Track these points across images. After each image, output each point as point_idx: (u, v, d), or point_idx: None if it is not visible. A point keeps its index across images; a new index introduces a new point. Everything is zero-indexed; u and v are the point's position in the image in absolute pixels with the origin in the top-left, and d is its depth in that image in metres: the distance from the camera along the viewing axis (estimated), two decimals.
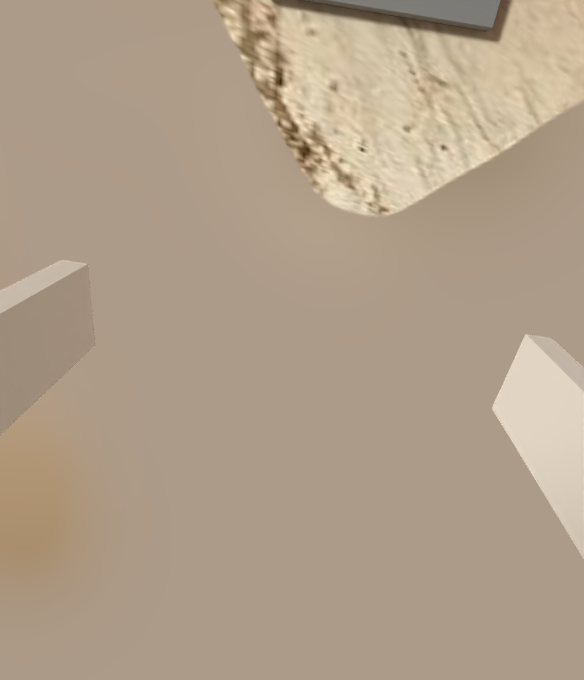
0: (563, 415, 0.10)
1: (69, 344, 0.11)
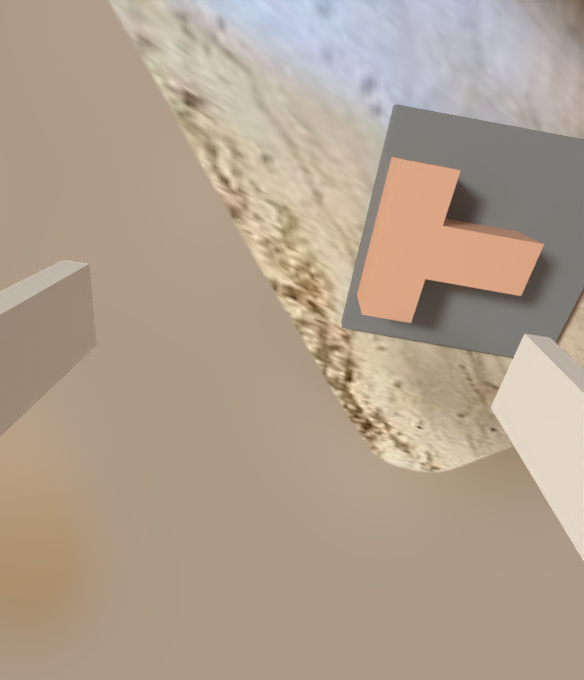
0: (561, 414, 0.10)
1: (70, 344, 0.12)
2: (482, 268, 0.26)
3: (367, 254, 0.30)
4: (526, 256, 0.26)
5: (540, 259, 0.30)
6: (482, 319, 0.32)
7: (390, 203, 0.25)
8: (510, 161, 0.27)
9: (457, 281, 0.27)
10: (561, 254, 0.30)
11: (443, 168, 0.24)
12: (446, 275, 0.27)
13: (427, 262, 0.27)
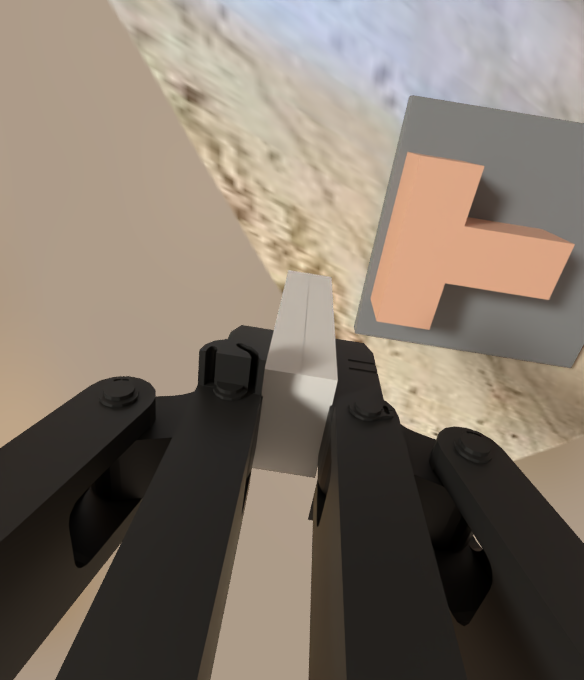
0: None
1: None
2: (507, 271, 0.25)
3: (381, 256, 0.29)
4: (555, 257, 0.24)
5: None
6: (504, 323, 0.30)
7: (406, 202, 0.24)
8: (536, 154, 0.25)
9: (479, 284, 0.25)
10: None
11: (465, 164, 0.22)
12: (467, 279, 0.25)
13: (447, 265, 0.25)
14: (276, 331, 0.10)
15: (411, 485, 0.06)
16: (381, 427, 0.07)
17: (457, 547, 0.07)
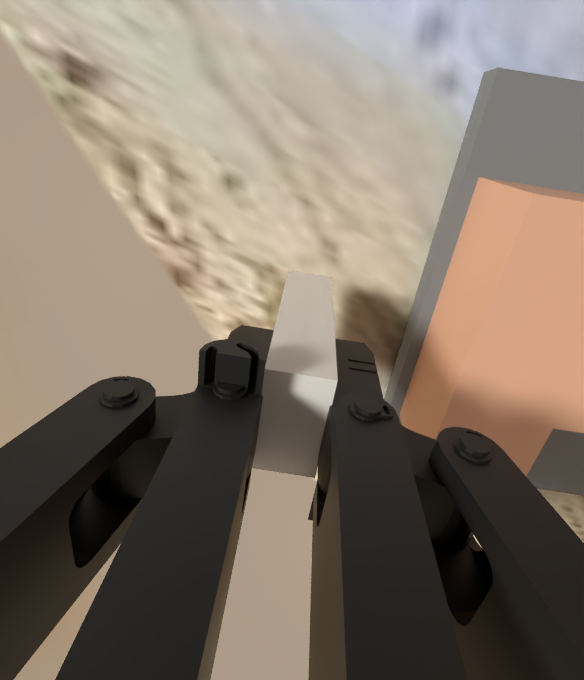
0: None
1: None
2: None
3: (421, 353, 0.17)
4: None
5: None
6: None
7: (491, 285, 0.12)
8: None
9: None
10: None
11: None
12: None
13: (562, 400, 0.13)
14: (276, 331, 0.10)
15: (411, 485, 0.06)
16: (381, 427, 0.07)
17: (457, 547, 0.07)
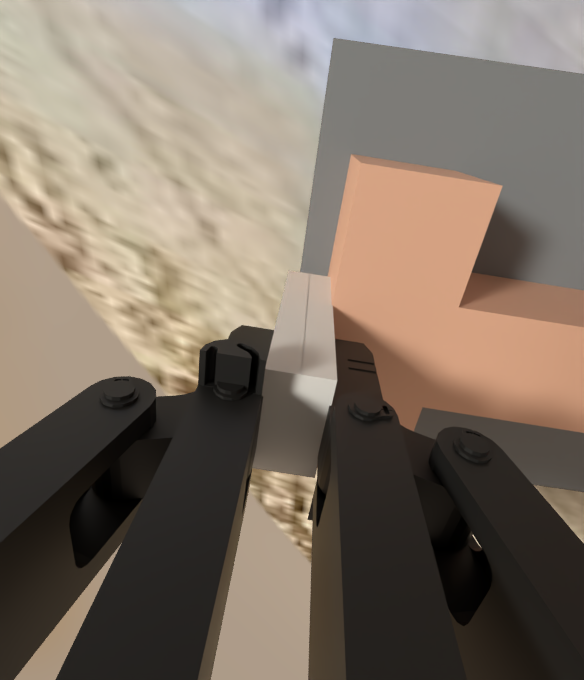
0: None
1: None
2: (544, 389, 0.12)
3: None
4: None
5: None
6: (518, 434, 0.18)
7: (340, 259, 0.11)
8: (581, 151, 0.13)
9: (489, 411, 0.13)
10: None
11: (460, 182, 0.10)
12: (466, 401, 0.13)
13: (426, 377, 0.13)
14: (276, 331, 0.10)
15: (411, 485, 0.06)
16: (381, 427, 0.07)
17: (456, 547, 0.07)
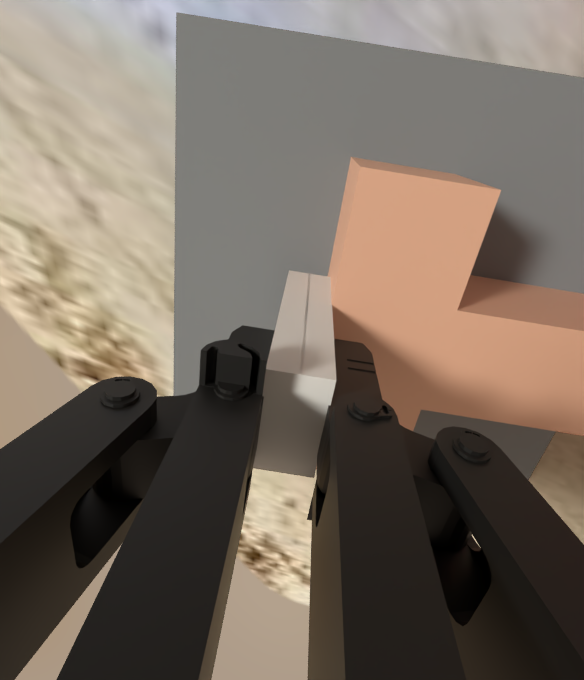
0: None
1: None
2: (542, 392, 0.13)
3: None
4: None
5: None
6: None
7: (339, 261, 0.11)
8: (433, 131, 0.13)
9: (487, 413, 0.13)
10: None
11: (459, 186, 0.10)
12: (464, 403, 0.13)
13: (424, 380, 0.13)
14: (277, 331, 0.10)
15: (410, 485, 0.06)
16: (380, 427, 0.07)
17: (456, 547, 0.07)
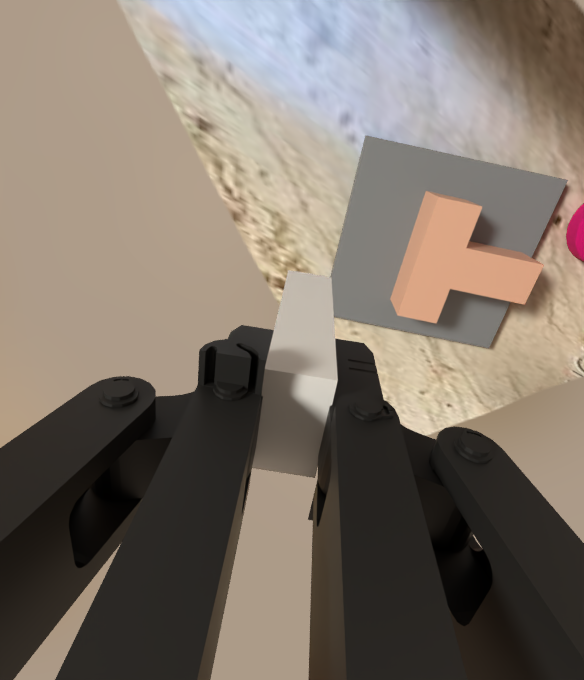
0: None
1: None
2: (495, 282, 0.34)
3: (401, 266, 0.37)
4: (529, 274, 0.33)
5: None
6: None
7: (425, 229, 0.32)
8: (456, 183, 0.34)
9: (475, 291, 0.34)
10: None
11: (469, 204, 0.31)
12: (466, 286, 0.34)
13: (452, 275, 0.34)
14: (276, 331, 0.10)
15: (411, 485, 0.06)
16: (381, 427, 0.07)
17: (457, 547, 0.07)
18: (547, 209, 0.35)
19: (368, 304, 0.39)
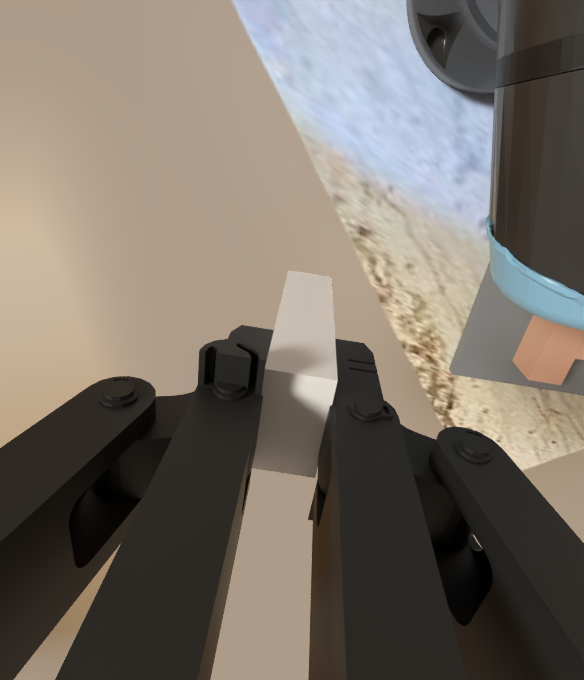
0: None
1: None
2: None
3: (524, 336, 0.45)
4: None
5: None
6: None
7: None
8: None
9: None
10: None
11: None
12: None
13: (578, 348, 0.41)
14: (276, 331, 0.10)
15: (411, 485, 0.06)
16: (381, 427, 0.07)
17: (457, 547, 0.07)
18: None
19: (492, 365, 0.47)
